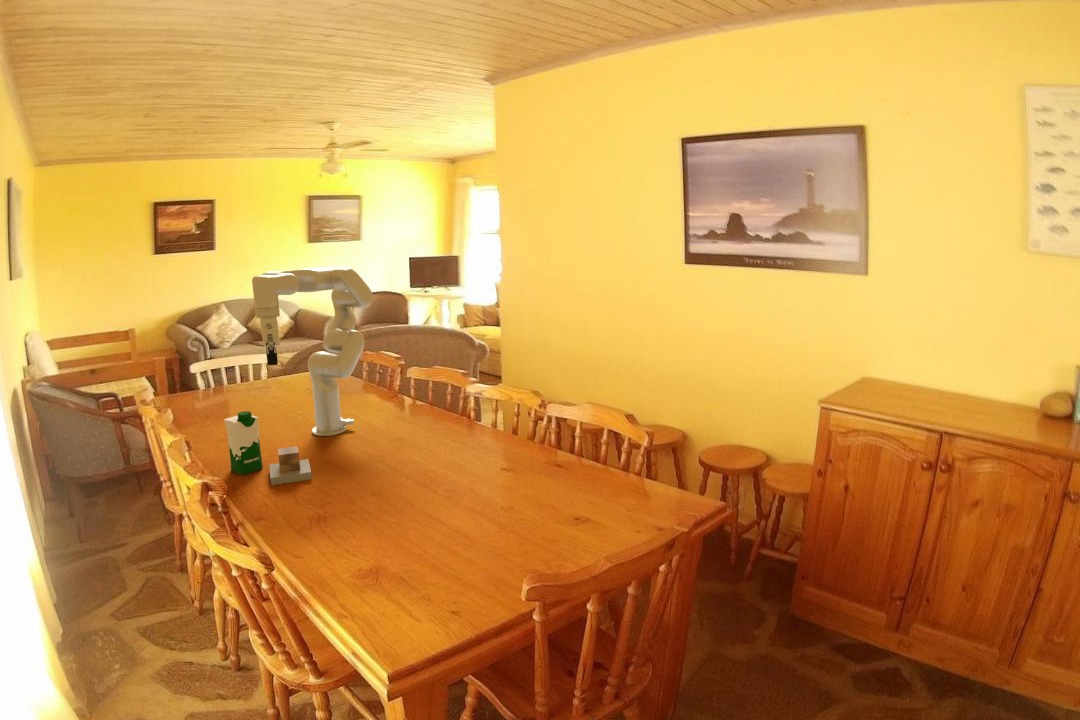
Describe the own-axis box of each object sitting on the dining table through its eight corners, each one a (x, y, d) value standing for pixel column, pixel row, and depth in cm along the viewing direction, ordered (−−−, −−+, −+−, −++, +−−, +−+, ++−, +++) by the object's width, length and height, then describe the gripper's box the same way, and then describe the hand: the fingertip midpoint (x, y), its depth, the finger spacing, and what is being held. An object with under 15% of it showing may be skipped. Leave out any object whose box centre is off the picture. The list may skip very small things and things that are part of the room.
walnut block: (299, 463, 208) (297, 446, 207) (300, 470, 203) (298, 452, 202) (279, 466, 206) (277, 448, 205) (280, 473, 201) (278, 455, 199)
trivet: (308, 466, 213) (308, 459, 212) (311, 479, 202) (311, 472, 202) (270, 471, 208) (269, 464, 208) (271, 485, 197) (270, 478, 197)
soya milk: (242, 477, 204) (235, 418, 199) (226, 471, 209) (219, 413, 204) (267, 468, 211) (261, 411, 206) (251, 462, 216) (245, 406, 211)
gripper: (280, 315, 206) (285, 366, 210) (278, 308, 222) (283, 355, 226) (255, 316, 204) (260, 368, 207) (255, 309, 219) (260, 357, 223)
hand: (272, 361), depth 217 cm, fingers open, 9 cm apart
